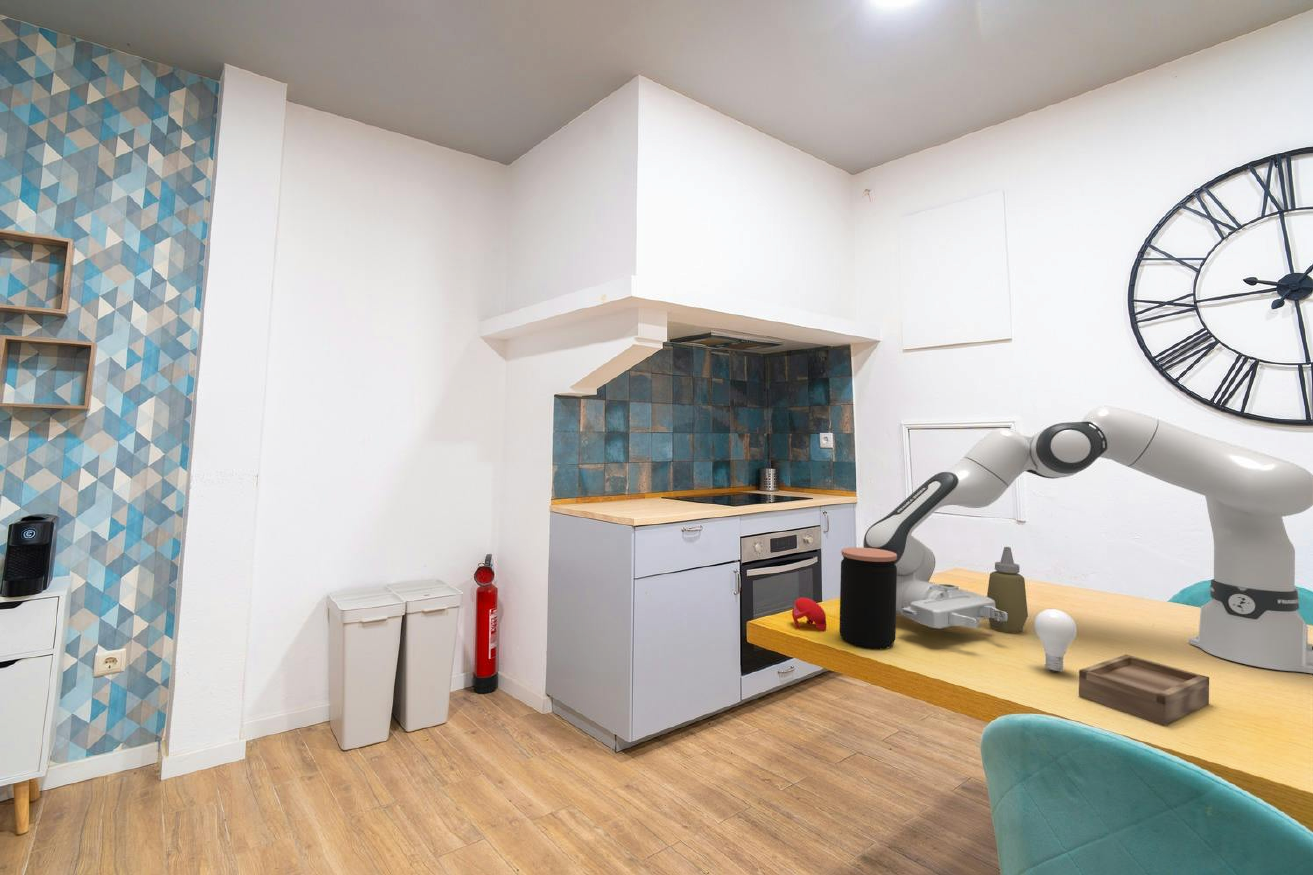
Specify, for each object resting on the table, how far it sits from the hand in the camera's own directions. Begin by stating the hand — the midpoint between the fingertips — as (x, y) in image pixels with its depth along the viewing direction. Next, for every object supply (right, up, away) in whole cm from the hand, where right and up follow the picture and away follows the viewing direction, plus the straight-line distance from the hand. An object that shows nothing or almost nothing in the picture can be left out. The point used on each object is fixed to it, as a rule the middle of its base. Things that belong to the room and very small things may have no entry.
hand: (991, 620), depth 114 cm
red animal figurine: (-33, -5, +12) cm, 35 cm away
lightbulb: (+5, -6, -10) cm, 13 cm away
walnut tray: (+12, -6, -21) cm, 25 cm away
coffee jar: (-23, -5, +4) cm, 24 cm away
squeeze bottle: (+11, -6, +14) cm, 19 cm away
